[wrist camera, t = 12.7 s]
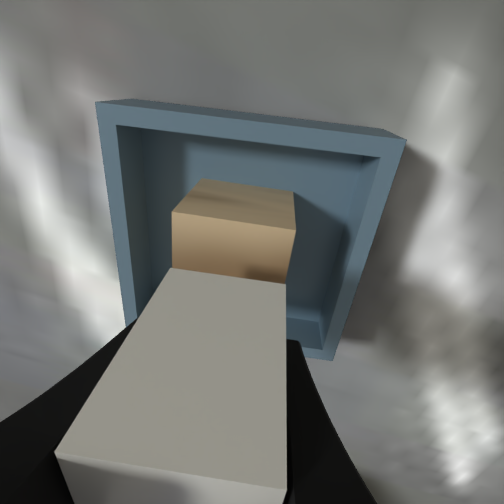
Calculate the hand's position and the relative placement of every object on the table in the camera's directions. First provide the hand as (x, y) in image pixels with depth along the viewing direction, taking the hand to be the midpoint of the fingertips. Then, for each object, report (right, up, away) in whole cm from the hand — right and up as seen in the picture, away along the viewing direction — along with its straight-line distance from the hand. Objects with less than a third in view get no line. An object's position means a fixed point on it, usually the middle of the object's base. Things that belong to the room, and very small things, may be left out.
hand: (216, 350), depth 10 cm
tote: (+1, +5, +9) cm, 10 cm away
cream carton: (0, +1, +1) cm, 1 cm away
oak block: (+1, +4, +8) cm, 9 cm away
